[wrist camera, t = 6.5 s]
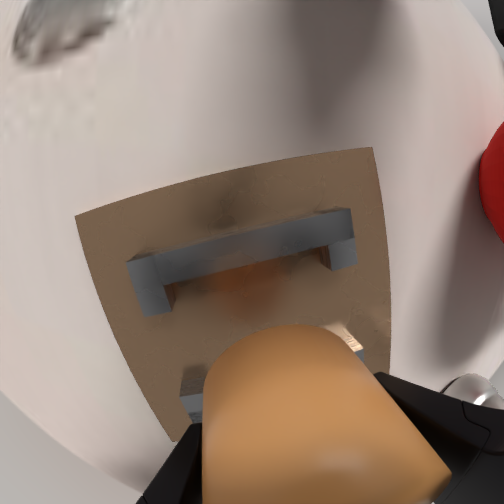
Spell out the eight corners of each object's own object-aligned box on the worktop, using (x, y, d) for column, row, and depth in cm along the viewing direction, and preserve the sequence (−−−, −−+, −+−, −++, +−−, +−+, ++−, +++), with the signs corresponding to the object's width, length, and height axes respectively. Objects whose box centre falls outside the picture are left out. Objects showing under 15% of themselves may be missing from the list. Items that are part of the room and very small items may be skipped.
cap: (353, 302, 8) (485, 421, 3) (356, 415, 10) (420, 519, 4) (180, 348, 8) (153, 530, 2) (227, 451, 9) (242, 574, 4)
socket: (367, 148, 14) (387, 143, 12) (385, 380, 17) (398, 395, 15) (78, 215, 13) (60, 219, 11) (172, 436, 16) (170, 456, 14)
